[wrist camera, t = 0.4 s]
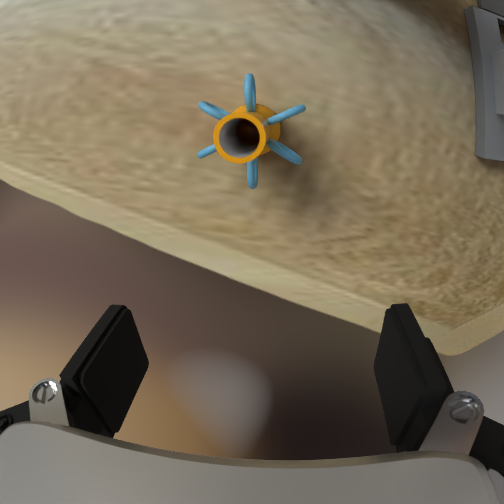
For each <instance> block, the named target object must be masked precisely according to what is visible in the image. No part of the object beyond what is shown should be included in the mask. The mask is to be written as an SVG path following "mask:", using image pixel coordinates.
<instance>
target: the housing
mask: <svg viewBox="0 0 504 504" xmlns="http://www.w3.org/2000/svg"><path fill="white" fill-rule="evenodd" d="M464 12H465V17H466V22H467V27H468V33H469V39H470V46H471V54H472V62H473V72H474V85H475V104H476V148H475V155H476V156H479V157H481V158H484V159H492V160H500V161H504V43H502V42H501V36H500V30H499V25H501V26H504V18H503V17H501V16H498V15H496V14H493V13H491V12H488V11H485V10H483V9H480V8H477V7H474V6H471V7H469V8H467V9H464ZM498 24H499V25H498Z"/></svg>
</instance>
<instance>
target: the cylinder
mask: <svg viewBox="0 0 504 504" xmlns="http://www.w3.org/2000/svg"><path fill="white" fill-rule="evenodd" d="M244 96H245V105H243V106H241V107H239V108H237V109H236V110H235V111H234V112H233V113H231V114H230V113H228V112H226V111H225V110H223V109H221V108H219V107H217V106H215V105H213V104H210V103H208V102H205V101H201V102H200V103H199V105H198V106H199V108H200V109H201V110H202V111H204V112H206V113H207V114H209V115H211V116H213V117H214V118H216V119H219V120H220V121H219V122H218V124H217V125H216V127H215V130H214V134H213V141H214V144H213V145H211V146H209V147H207V148H205V149H203V150H201V151H199V152H198V153H197V156H198V158H204V157H206V156H208V155H210V154H212V153H214V152H216V151H217V152H218V153H219V154H220V155H221V156H222V157H223V158H224V159H226V160H228V161H230V162H233V163H246V162H247V179H248V185H249V187H250V188H251V189H255V188H256V186H257V181H258V159H257V156H259V155H262V154H265V153H267V152H268V151H270V150H273V151H274V152H275V153H277V154H278V155H280V156H282V157H283V158H285V159H287V160H288V161H290V162H292V163H294V164H298V165H299V164H301V163H302V158H301V157H300V156H299V155H298V154H297V153H295V152H294V151H292V150H291V149H289V148H288V147H286V146H285V145H283V144H281V143H280V142H278V140H279V137H280V132H281V125H280V121H283V120H285V119H287V118H290V117H292V116H294V115H297V114H299V113H301V112H304V111H305V110H306V107H305V105H303V104H301V105H298V106H296V107H293V108H291V109H288V110H286V111H284V112H281V113H279V114H277V115H276V114H275V113H274V111H272V110H271V109H270V108H268V107H266V106H264V105H260V104H256V89H255V79H254V76H253V75H252V74H250V73H249V74H247V75H246V76H245V81H244Z"/></svg>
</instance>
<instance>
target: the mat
mask: <svg viewBox="0 0 504 504" xmlns="http://www.w3.org/2000/svg"><path fill="white" fill-rule="evenodd" d="M477 4H478V8H480V9H483V10H485V11H488V12H491V13H493V14H496V15H498V16H501V17H503V18H504V0H477Z"/></svg>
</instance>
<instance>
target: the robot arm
mask: <svg viewBox="0 0 504 504" xmlns="http://www.w3.org/2000/svg"><path fill="white" fill-rule="evenodd" d="M148 364H149V361H148V358H147V355H146V353H145V350H144V347H143V344H142V342H141V339H140V336H139V333H138V330H137V327H136V325H135V322H134V319H133V316H132V313H131V311H130V310H129V309H127V307H126V306H124V305H110V306H109V308H108V309H107V310H106V312H105V313H104V314H103V316H102V317H101V318H100V320H99V321H98V322H97V323H96V325H95V326H94V327H93V329H92V330H91V332H90V333H89V334H88V336H87V337H86V338H85V340H84V341H83V342H82V344H81V345H80V347H79V348H78V349H77V351H76V352H75V354H74V355H73V356H72V358H71V359H70V361H69V362H68V363H67V365H66V367H65V368H64V369H63V371H62V372H61V374H60V375H59V376H60V377H61V380H60V382H58V381H57V380H56V379H53V378H46V379H42V380H40V381H38V382H37V383H36V384H35V385H34V386H33V387H32V388H31V390H30V393H29V400H28V401H26V402H23V403H21V404H18V405H16V406H13V407H11V408H8V409H6V410H3V411H0V504H504V425H502V424H500V423H498V422H496V421H494V420H492V419H489V418H487V417H485V416H483V414H484V408H483V404H482V402H481V401H480V399H478V397H477V396H475V395H474V394H472V393H470V392H466V391H457V392H454V390H453V388H452V385H451V383H450V381H449V378H448V376H447V374H446V372H445V369H444V367H443V365H442V363H441V361H440V359H439V356H438V354H437V352H436V350H435V348H434V346H433V344H432V342H431V340H430V339H429V338H425V336H424V334H423V332H422V330H421V328H420V326H419V324H418V322H417V320H416V318H415V316H414V314H413V312H412V310H411V308H410V307H409V305H408V304H407V303H403V304H392V305H391V308H389V309H386V312H385V317H384V322H383V327H382V331H381V336H380V340H379V345H378V349H377V353H376V358H375V361H374V372H375V376H376V381H377V385H378V389H379V393H380V397H381V402H382V406H383V410H384V415H385V420H386V424H387V429H388V434H389V439H390V443H391V445H395V446H396V451H397V453H393V454H384V455H376V456H368V457H357V458H344V459H328V460H305V461H275V460H249V459H233V458H222V457H213V456H204V455H196V454H188V453H182V452H175V451H169V450H163V449H158V448H153V447H148V446H143V445H139V444H134V443H130V442H125V441H121V440H117V439H113V437H114V434H115V433H116V432H118V431H119V430H120V428H121V426H122V424H123V421H124V419H125V417H126V415H127V412H128V410H129V408H130V406H131V404H132V401H133V399H134V397H135V395H136V393H137V390H138V388H139V386H140V384H141V382H142V380H143V378H144V375H145V373H146V371H147V369H148ZM403 451H407V452H403ZM398 452H402V453H398Z"/></svg>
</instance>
